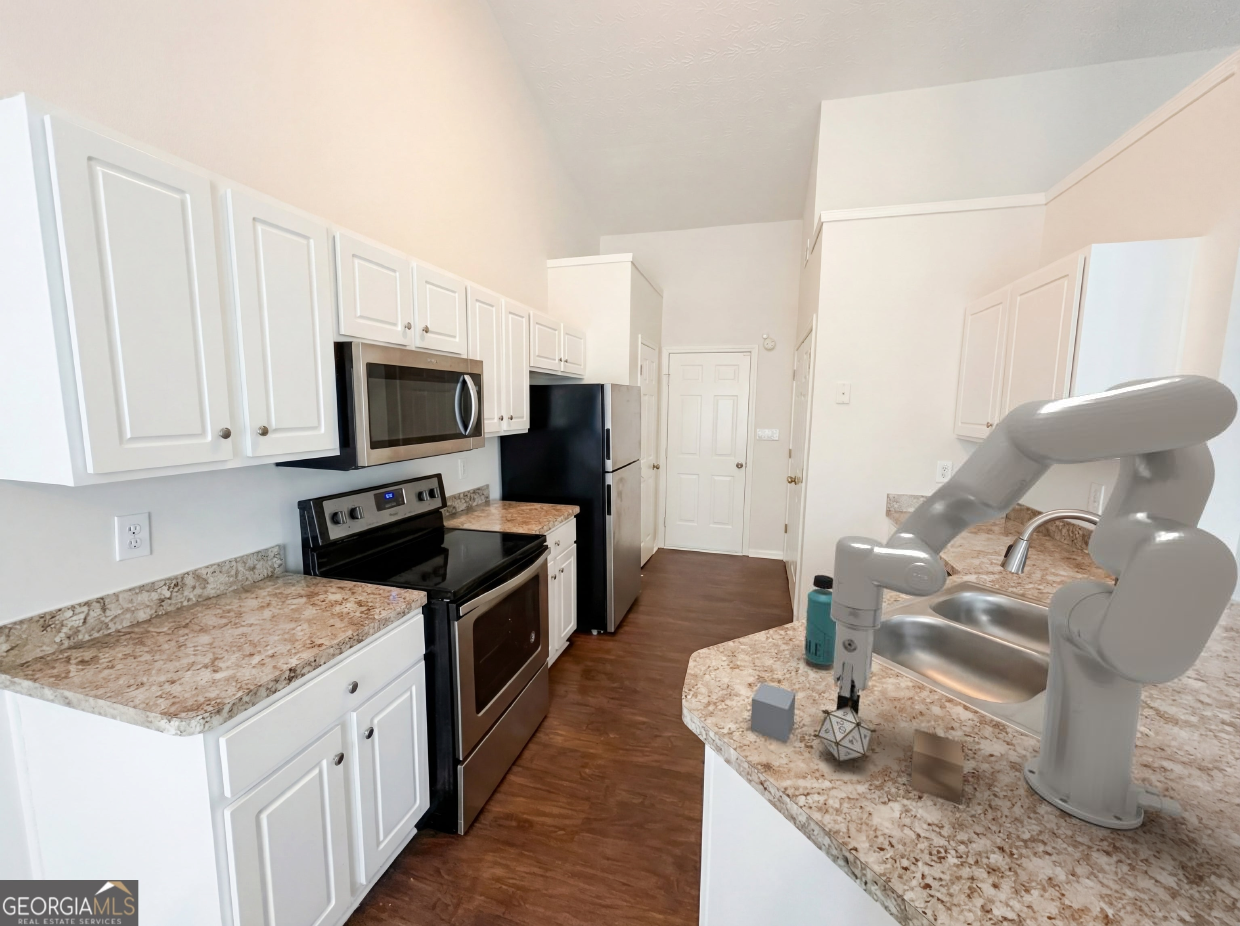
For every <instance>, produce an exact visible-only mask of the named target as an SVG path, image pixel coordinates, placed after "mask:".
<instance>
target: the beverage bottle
mask: <svg viewBox="0 0 1240 926" xmlns="http://www.w3.org/2000/svg"><path fill="white" fill-rule="evenodd" d="M812 585H813V587H815V588H814V589H812V590H811V591H810V592H808V593H807V605H806V611H805V612H806V621H805V623H806V626H805V634H804V637H805V641H804V647H803V648H804V655H805V658H806V659H807V660H809V662H813V663H815V664H817V665H818V664H819V665H831V664H834V654H835V641H836V630H837V622H835V621H834V620H832V618H831V616H830V615H831V603H832V591H831V590H832V589H833V577H831V576H829V575H825V574H824V575H823V574H817V575H814V577H813V582H812Z"/></svg>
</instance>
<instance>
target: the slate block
mask: <svg viewBox="0 0 1240 926" xmlns="http://www.w3.org/2000/svg"><path fill="white" fill-rule="evenodd" d="M795 707H796V692H794V691H791V690H788V689H786V688H782V687H778V686H776V685H771V684H768V683H764V682H761V683H759V686H758V687H757V689H756V690H755V692H754V694H753V695H752V697H751V707H750V708H751V709H750V710H751V713H750V714H751V715H750V731H751V732H753V733H757V734H759V735H762V736H766V737H768V738H771V739H774V740H776V741H780V742H781V743H784V744H787V741H788V740H789V737H790V735H791V732H792V729H793V727H794V725H795V712H796V711H795V710H796V709H795Z"/></svg>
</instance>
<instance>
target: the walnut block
mask: <svg viewBox="0 0 1240 926" xmlns="http://www.w3.org/2000/svg"><path fill="white" fill-rule="evenodd" d="M963 756H964V755H963V749H962V742H961V741H958V740H954V739H952V738H948V737H945V736H942V735H938V734H934V733H931V732H928V731H925V730H921V729H918V728H915V727H914V729H913V743H912V755H911V771H910V772H911V773H910V774H911V775H910V777H911V778H910V781H911V782H910V788H911V789H913V790H916V791H919V792H922V793H924V794H928V795H930V796H933V797H936V798H939V799H941V800H945V801H947V802H949V803H953V804H955V805H958V806H961V801H962V792H963V782H964V781H963V780H964V769H965V766H964V765H965V764H964V757H963Z"/></svg>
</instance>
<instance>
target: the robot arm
mask: <svg viewBox="0 0 1240 926" xmlns="http://www.w3.org/2000/svg"><path fill="white" fill-rule="evenodd" d="M1237 413H1238V400H1237V398H1236V395H1235V394H1234V393H1233V391H1232V390H1231V389H1230V388H1229V387H1228V386H1226V385H1225V384H1224V383H1222V382H1220V381H1219V380H1216V379H1215V378H1212V377H1208V376H1203V375H1196V374H1179V375H1177V374H1176V375H1170V376H1169V375H1168V376H1159V377H1152V378H1142V379H1136V380H1135V379H1134V380H1128V381H1125V382H1122V383H1118V384H1115V385H1113V386H1111V387H1108V388H1106V389H1105V390H1103V391H1100V392H1095V393H1089V394H1085V395H1083V394H1082V395H1078V396H1071V397H1064V398H1054V399H1043V400H1042V399H1041V400H1033V401H1028V402H1024V403H1021V404H1019V405H1018V406H1016V407H1015V408H1013V409H1011V410H1010V411H1009V412H1008V413H1007V414H1006V415H1005V416H1004V417H1003V418H1002V419H1001V420H1000V422H998V424H997V425H996V426H995V427H994V428H993V429H992V430H991V432H990V433H989V434H988V435H987V436H985V439H983V441H982V442H981V443H980V445H978V446H977V448H976V449H975V450H974V451H973V452H972V453H971V455H969V457H968V458H967V459H966V460H965V461H964V462H963V464H962V465H961V466H960V467H959V468H958V469H957V471H955V472H954V473H953V475H951V477H950V478H949V479H948V480H947V481H946V482H944V483H943V484H942V485H940V486H939V487H938V488H937V489H936V490H935V491H934V492H932V494H931V495H929V496H928V497H927V498H926V499H924V501H922V502H921V503H920V504H919V505H917V506H916V507H915V508H914V510H912V511H911V513H909V515H907V517H906V518H905V519H904V521H903V522H902V523H901V524H900V525H899V526H898V528H897V529H895V531H894V532H893V533H892V534H891V535H890V536H889V538H888V539H887V541H886V543H885V544H884V543H883V542H881V541H880V540H877V539H876V538H872V537H871V538H870V537H866V536H857V535H847V536H843V537H840V538H839V539H838V540H837V542H836V544H835V550H834V551H835V553H834V565H833V566H834V567H833V577H832V578H833V589H831V590H832V591H831V592H832V603H831V615H830V616H831V618H832V620H834V621H835V622H837V623H836V641H835V654H834V662H833V673H832V675H833V677H832V679H833V681H834V682H835V684H838V692H837V698H836V699H837V700H836V710H837V709H841V708H844V707H847V706H848V702H850V701H851V706H850V707H851V708H852V709H853V710H854V711H855V713H856V714H857V715H858V716H859V712H860V698H861V695H860V694H859V693H860V691H861V692H864V691H866V690H868V689H867V688H868V686H869V681H870V677H871V675H872V674H871V672H872V666H873V665H872V663H873V651H874V650H873V648H874V635H875V634H874V633H875V632H874V631H876V630H878V629H880V627H881V626H882V625H881V624H882V613H883V602H884V591H885V589H886V590H889V591H892V592H895V593H898V594H902V595H906V596H909V597H914V598H928V597H932V596H935V595H937V594H939V593H940V592H942V591H943V590H944V589H945V586H946V584H947V581H948V573H947V568H946V566H945V565H944V562H943V561H942V559H941V558H939V555H940V554H941V553H942V552H943V551H944V550H945V549H946V548H947V547H948V546H949V544H950V543H952V542H953V541H954V540H955V539H956V538H958V536H960V535H961V534H962V533H963V532H965V531H967V530H969V529H970V528H973V527H975V526H976V525H980V524H982V523H986V522H989V521H993V520H997V519H1000V518H1001V517H1003V516H1005V515H1007V514H1008V513H1010V512H1011V511H1012V510H1013V509H1014V508H1015V506H1016V505H1017V504H1018V503H1019V502H1020V501H1021V500H1022V499H1023V498H1024V496H1026V494H1027V493H1029V491H1030V490H1031V489H1032V488H1033V487H1034V486H1035V485H1036V484H1037V483H1038V482H1039V481H1040V480H1041V478H1042V477H1044V475H1045V474H1047V473H1048V472H1049V470H1050V469H1051V468H1052V467H1053V466H1054V465H1074V464H1077V465H1078V464H1083V463H1084V464H1087V463H1093V462H1100V461H1108V460H1117V459H1119V470H1118V475H1117V478H1116V481H1115V483H1114V487H1113V488H1112V490H1111V492H1110V496H1109V498H1108V499H1107V501H1106V504H1105V506H1104V508H1103V510H1102V513H1101V514H1100V516H1099V519H1098V521H1097V523H1096V525H1095V526H1094V529H1093V531H1092V533H1091V535H1090V539H1089V541H1088V545H1087V546H1088V547H1087V548H1088V554H1089V556H1090V557H1091V559H1092V561H1093V562H1094V563H1095V565H1097V566H1098V567H1099V568H1101V570H1104V572H1107V573H1108V574H1110V575H1111V576H1113V577H1115V578H1117V579H1118V580H1117V582H1116V585H1114V584H1111V583H1109V582H1106V581H1105V582H1104V581H1100V580H1095V579H1078V580H1073V581H1070V582H1067V583H1065V584H1063V585H1061V586H1059V588H1057V590H1055V592H1054V593H1053V594H1052V596H1051V598H1050V600H1049V604H1048V608H1047V624H1048V625H1047V626H1048V639H1049V640H1048V641H1049V658H1048V659H1049V660H1048V670H1047V671H1048V672H1047V680H1046V689H1045V696H1044V697H1045V698H1044V706H1043V715H1042V726H1041V734H1040V735H1041V736H1040V744H1039V756H1038V757H1033V758H1030V759H1028V760H1027V761H1026V762H1025V764H1024V766H1023V768H1024V769H1023V773H1024V778H1025V780H1026V782H1027V783H1028V784H1029V785H1030V787H1031V788H1032V789H1033V790H1034V791H1035V792H1036V793H1037V794H1038V795H1040V796H1041V797H1042V798H1044V799H1045V800H1046V801H1047V802H1049V803H1051V804H1052V805H1053V806H1055V807H1056V808H1058V809H1061V811H1064V812H1065V813H1067V814H1069V815H1071V816H1073V817H1074V816H1075V817H1077V818H1079V819H1081V820H1083V821H1086V822H1089V823H1091V824H1094V825H1098V826H1100V827H1101V826H1102V827H1104V828H1105V827H1106V828H1110V829H1117V830H1131V829H1133V830H1134V829H1136V828H1139V827H1140V826H1141V825H1143V821H1144V815H1145V814H1144V811H1145V810H1147V809H1151V810H1154V811H1158V812H1159V813H1162V814H1165V815H1169V816H1170V817H1171V816H1172V817H1175V818H1179V819H1180V818H1181V816H1182V808H1181V805H1180V803H1179V801H1176V800H1173V799H1170V798H1166V797H1164V796H1163V797H1162V796H1160V791H1159V789H1158V787H1154V786H1151V785H1147V784H1141V783H1139V782H1135V779H1133V778H1132V772H1133V764H1134V756H1135V748H1136V740H1137V733H1138V724H1139V716H1140V710H1141V703H1142V694H1143V693H1142V691H1143V685H1146V686H1147V685H1148V686H1149V685H1151V686H1153V685H1156V686H1157V685H1162V684H1167V683H1170V682H1173V681H1175V680H1177V679H1179V678H1180V677H1182V676H1183V675H1185V674H1186V673H1188V672H1189V670H1190V669H1191V668H1192V667H1193V666H1194V665H1195V664H1196V662H1197V660H1198V659H1199V657H1200V656H1201V654H1202V653H1203V651H1204V649H1205V647H1206V645H1207V644H1208V641H1209V640H1210V638H1211V636H1212V634H1213V632H1214V631H1215V629H1216V627H1217V625H1218V623H1219V621H1220V619H1221V618H1222V616H1223V614H1224V612H1225V610H1226V609H1227V607H1228V605H1229V603H1230V601H1231V598H1232V597H1233V594H1234V592H1235V591H1236V587H1237V584H1238V575H1239V574H1238V573H1239V571H1238V570H1239V569H1238V564H1237V560H1236V558H1235V555H1234V554H1233V552H1232V550H1231V549H1230V548H1229V547H1228V545H1227V544H1226V543H1225V542H1224V541H1223V540H1221V539H1220V538H1219V537H1217V536H1216V535H1214V534H1213V533H1211V532H1208V531H1206V530H1204V529H1202V528H1199V527H1198V525H1199V522H1200V521H1201V517H1202V515H1203V513H1204V511H1205V508H1206V506H1207V504H1208V501H1209V498H1210V496H1211V493H1212V491H1213V488H1214V484H1215V475H1216V472H1215V471H1216V470H1215V462H1214V460H1213V455H1212V452H1211V450H1210V448H1209V446H1208V444H1207V442H1208V441H1210V440H1213V439H1214V438H1216V437H1218V436H1220V435H1221V434H1223V433H1224V432H1225V431H1226V430H1227V429H1228V428H1229V427H1230V426H1231V425H1232V424H1233V423H1234V420H1235V419H1236V417H1237Z"/></svg>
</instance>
